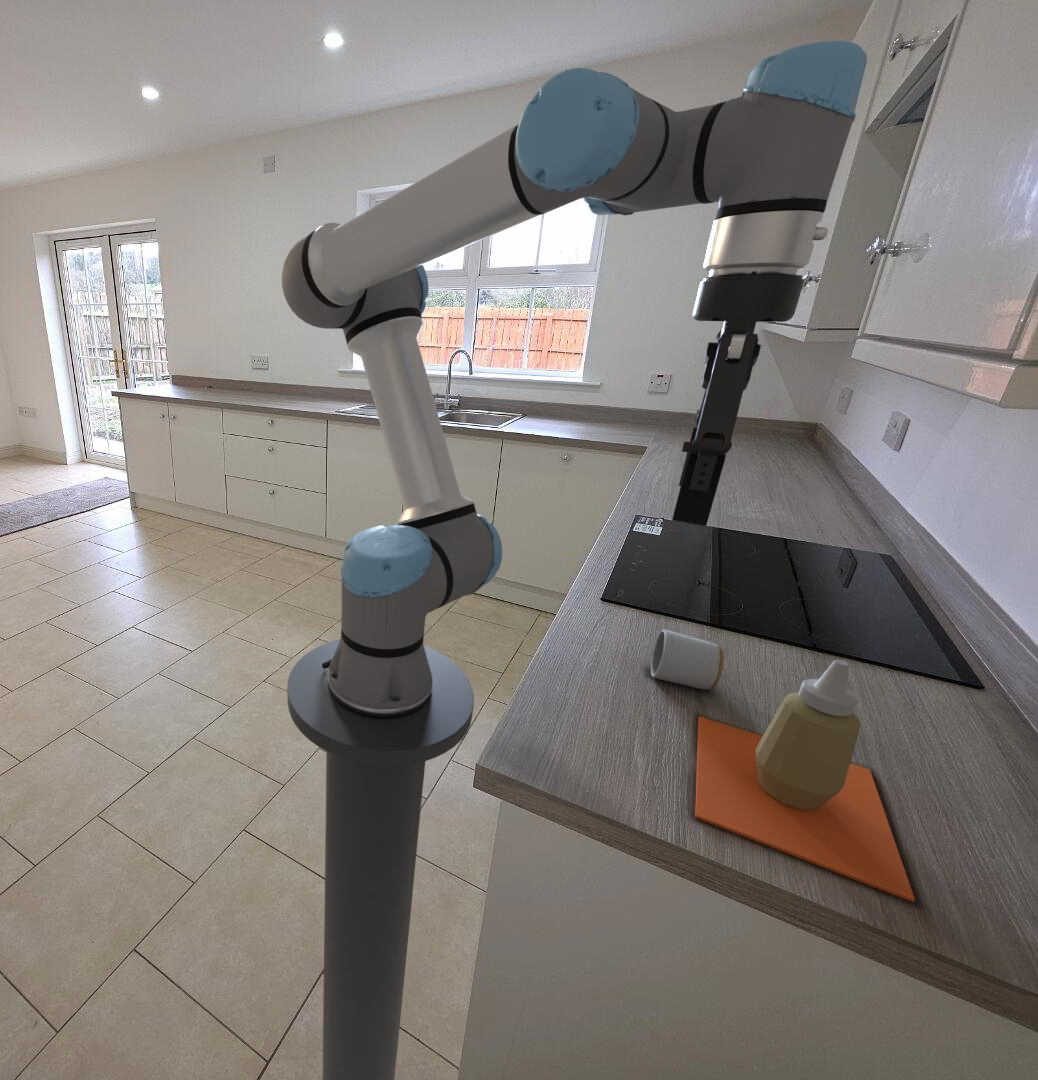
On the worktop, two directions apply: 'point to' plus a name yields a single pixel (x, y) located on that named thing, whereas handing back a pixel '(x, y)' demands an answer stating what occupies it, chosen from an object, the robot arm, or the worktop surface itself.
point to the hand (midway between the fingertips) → (691, 503)
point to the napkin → (797, 813)
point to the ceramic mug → (687, 660)
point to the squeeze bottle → (810, 741)
